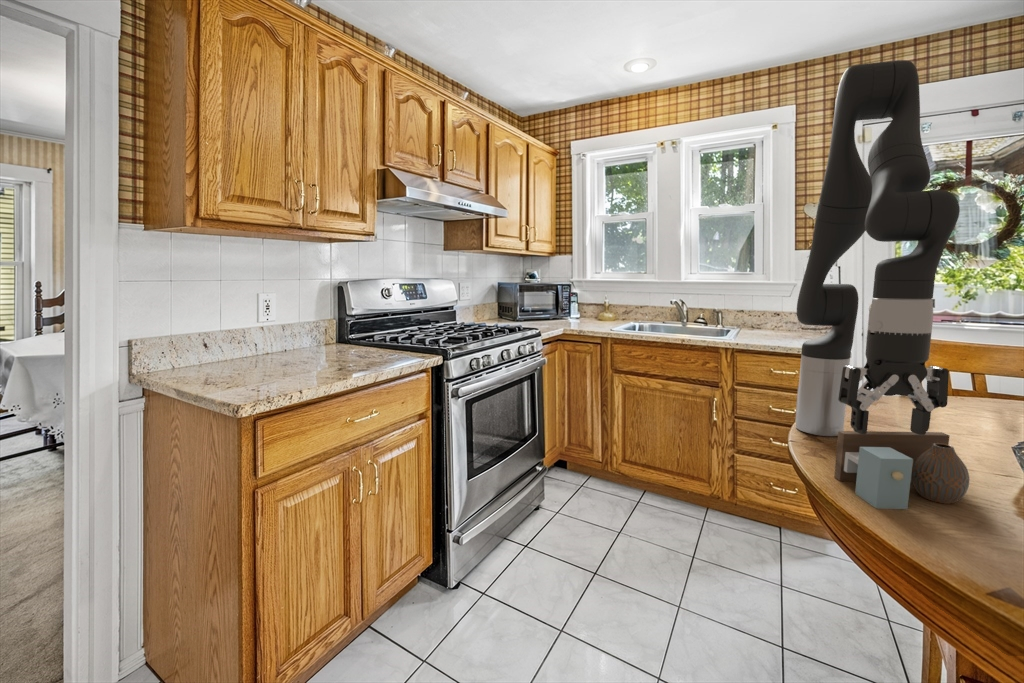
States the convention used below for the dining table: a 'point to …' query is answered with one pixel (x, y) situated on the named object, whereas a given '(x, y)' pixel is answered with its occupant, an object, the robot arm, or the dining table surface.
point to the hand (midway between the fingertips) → (888, 432)
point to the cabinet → (881, 476)
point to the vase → (940, 474)
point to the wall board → (898, 441)
